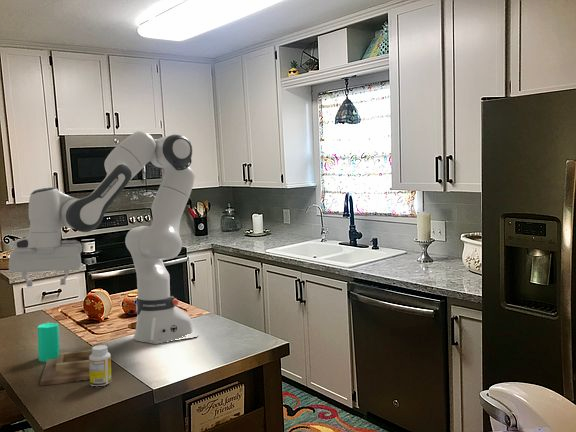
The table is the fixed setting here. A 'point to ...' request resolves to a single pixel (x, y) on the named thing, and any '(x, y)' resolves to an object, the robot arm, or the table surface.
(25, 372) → the table surface
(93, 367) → the supplement bottle
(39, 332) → the candle
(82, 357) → the candle holder
